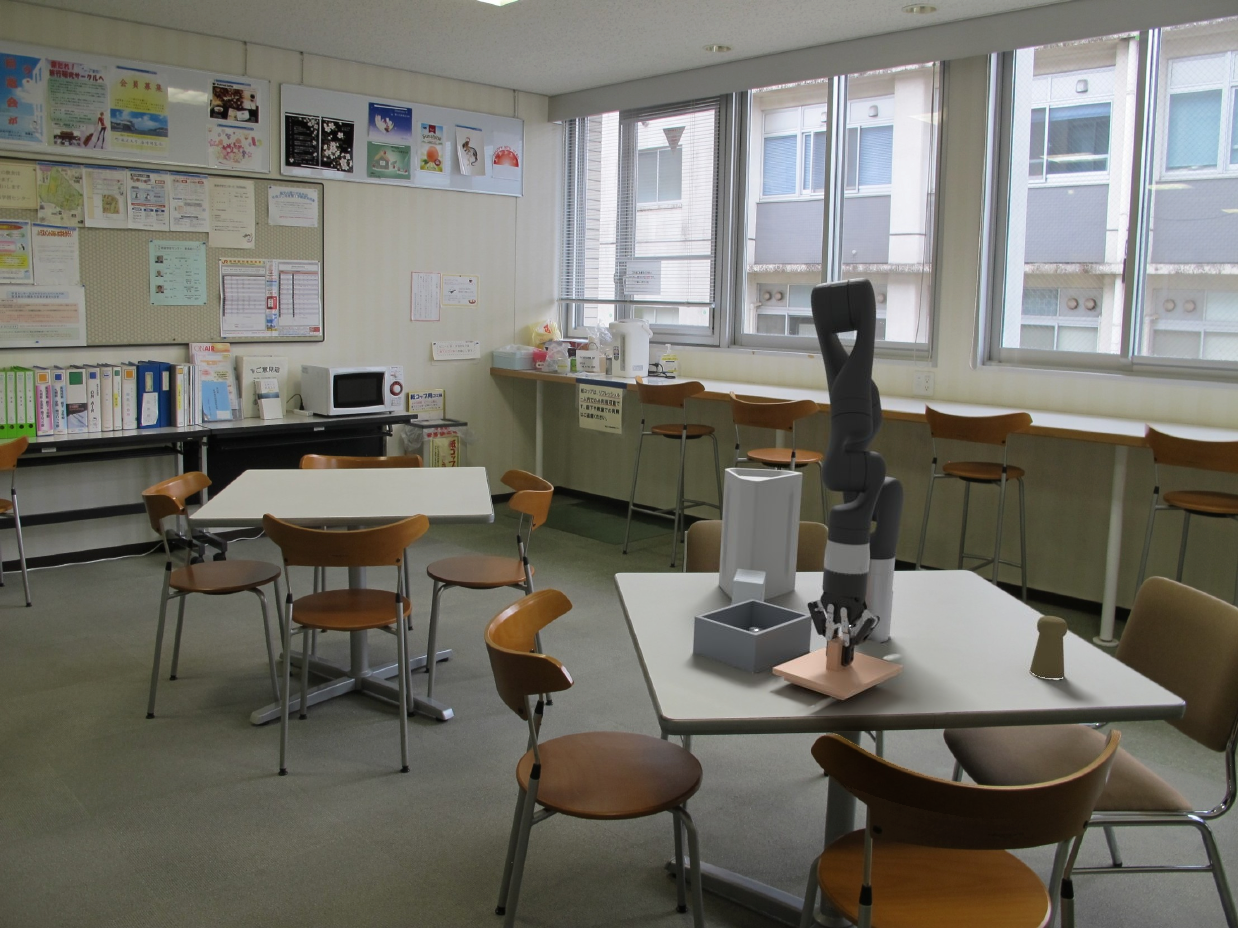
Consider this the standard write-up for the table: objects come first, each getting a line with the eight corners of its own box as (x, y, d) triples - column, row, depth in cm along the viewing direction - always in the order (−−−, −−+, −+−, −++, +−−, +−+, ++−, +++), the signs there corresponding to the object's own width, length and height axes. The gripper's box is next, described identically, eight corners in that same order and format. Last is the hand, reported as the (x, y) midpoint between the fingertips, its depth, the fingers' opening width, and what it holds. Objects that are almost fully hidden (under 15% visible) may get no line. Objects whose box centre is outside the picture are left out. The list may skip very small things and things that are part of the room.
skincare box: (760, 632, 204) (763, 583, 202) (728, 629, 205) (731, 580, 204) (763, 617, 214) (766, 570, 212) (733, 615, 215) (736, 567, 214)
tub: (749, 637, 201) (752, 598, 199) (809, 655, 191) (812, 615, 190) (692, 657, 188) (694, 616, 186) (753, 678, 178) (755, 635, 177)
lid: (830, 656, 186) (833, 618, 185) (902, 678, 176) (905, 638, 175) (772, 679, 172) (774, 639, 171) (846, 705, 162) (849, 662, 161)
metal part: (754, 640, 196) (754, 626, 195) (766, 644, 193) (767, 629, 193) (744, 644, 193) (745, 629, 193) (757, 648, 191) (758, 633, 191)
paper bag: (744, 576, 247) (751, 464, 243) (796, 589, 237) (803, 473, 233) (697, 590, 233) (703, 472, 228) (749, 605, 223) (757, 481, 219)
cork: (1061, 682, 182) (1068, 624, 180) (1026, 675, 185) (1032, 618, 183) (1066, 673, 187) (1073, 616, 185) (1032, 666, 190) (1038, 610, 188)
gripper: (893, 571, 169) (885, 669, 172) (823, 555, 178) (817, 648, 181) (871, 578, 164) (863, 679, 166) (800, 561, 173) (793, 657, 176)
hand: (839, 662), depth 174 cm, fingers closed on lid
